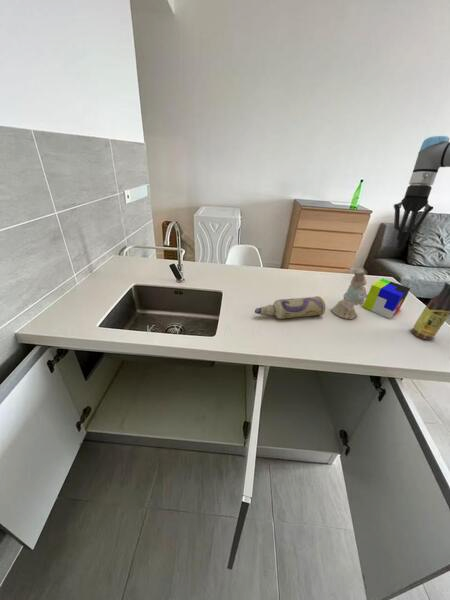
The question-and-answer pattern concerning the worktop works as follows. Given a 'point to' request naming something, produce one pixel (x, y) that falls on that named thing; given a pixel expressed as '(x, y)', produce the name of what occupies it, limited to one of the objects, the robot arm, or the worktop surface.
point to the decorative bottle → (294, 307)
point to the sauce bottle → (433, 314)
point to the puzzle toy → (386, 297)
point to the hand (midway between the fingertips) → (398, 248)
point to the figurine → (352, 296)
